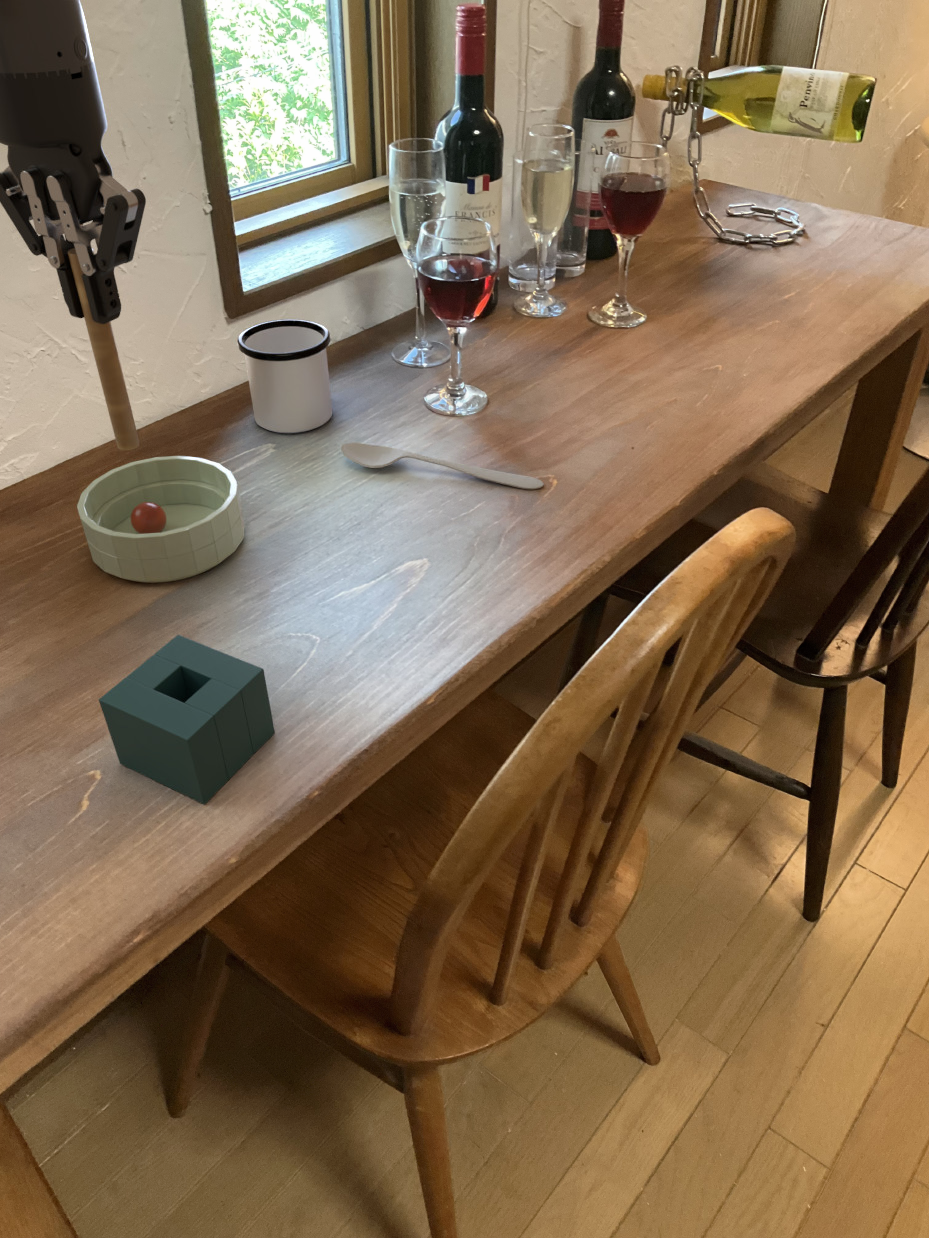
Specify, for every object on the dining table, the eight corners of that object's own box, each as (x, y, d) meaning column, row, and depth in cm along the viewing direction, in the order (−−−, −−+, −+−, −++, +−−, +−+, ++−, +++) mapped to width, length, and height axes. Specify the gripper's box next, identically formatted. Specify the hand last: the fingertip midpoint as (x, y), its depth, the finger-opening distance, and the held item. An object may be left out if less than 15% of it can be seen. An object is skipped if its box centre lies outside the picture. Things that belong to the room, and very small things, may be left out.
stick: (128, 452, 79) (79, 256, 69) (112, 447, 80) (62, 252, 70) (144, 443, 81) (98, 249, 71) (128, 438, 81) (80, 245, 71)
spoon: (349, 449, 98) (348, 434, 97) (547, 475, 94) (548, 460, 93) (334, 469, 95) (333, 454, 94) (538, 497, 91) (539, 482, 90)
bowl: (175, 604, 78) (163, 554, 75) (59, 559, 83) (43, 510, 80) (275, 526, 87) (268, 478, 84) (165, 489, 92) (154, 443, 89)
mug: (310, 444, 99) (300, 361, 93) (232, 428, 102) (218, 346, 96) (363, 396, 108) (357, 317, 102) (290, 382, 110) (280, 305, 105)
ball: (154, 545, 84) (129, 522, 82) (143, 540, 86) (118, 517, 84) (178, 521, 84) (154, 497, 83) (166, 516, 87) (142, 492, 85)
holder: (204, 805, 62) (187, 740, 58) (119, 763, 65) (98, 699, 61) (275, 732, 67) (263, 668, 63) (193, 697, 70) (178, 633, 66)
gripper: (-88, 57, 63) (-6, 317, 73) (64, 76, 57) (128, 352, 68) (5, 42, 68) (69, 286, 79) (152, 57, 62) (198, 317, 73)
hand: (96, 316), depth 73 cm, fingers closed on stick, 2 cm apart
